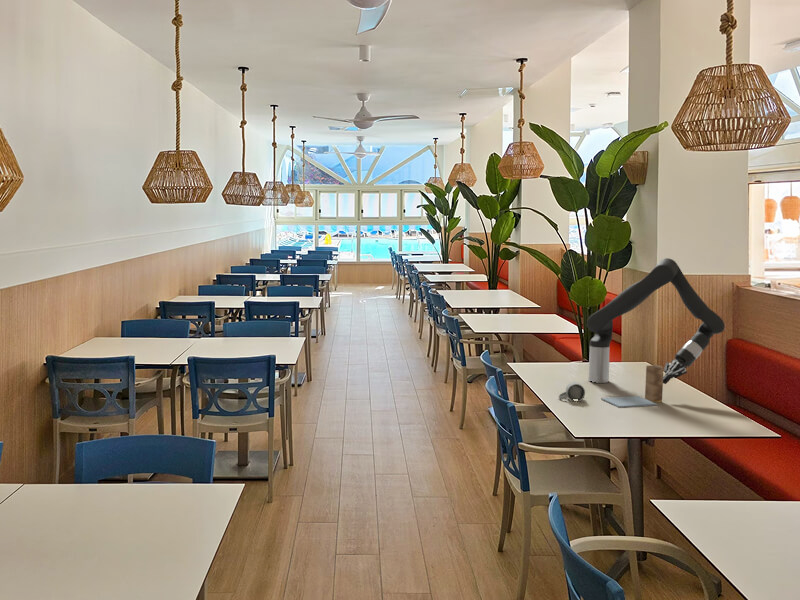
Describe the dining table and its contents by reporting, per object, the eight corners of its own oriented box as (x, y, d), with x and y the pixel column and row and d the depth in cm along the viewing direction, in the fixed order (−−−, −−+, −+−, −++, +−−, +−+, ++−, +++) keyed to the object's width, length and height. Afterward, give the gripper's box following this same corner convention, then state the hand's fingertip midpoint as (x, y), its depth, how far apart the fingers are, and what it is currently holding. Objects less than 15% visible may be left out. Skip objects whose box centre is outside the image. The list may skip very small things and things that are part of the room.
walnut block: (654, 399, 313) (656, 365, 311) (661, 401, 308) (663, 367, 307) (644, 399, 312) (646, 365, 310) (651, 402, 307) (653, 367, 305)
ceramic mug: (582, 397, 315) (582, 380, 314) (585, 402, 307) (585, 384, 306) (557, 397, 316) (557, 380, 315) (559, 401, 308) (560, 384, 307)
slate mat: (637, 397, 316) (637, 395, 316) (657, 405, 302) (657, 403, 302) (601, 399, 311) (601, 398, 311) (619, 407, 298) (619, 406, 298)
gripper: (674, 345, 318) (648, 373, 316) (694, 350, 305) (667, 380, 303) (684, 356, 320) (658, 384, 318) (704, 362, 307) (677, 391, 305)
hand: (663, 382), depth 310 cm, fingers closed
